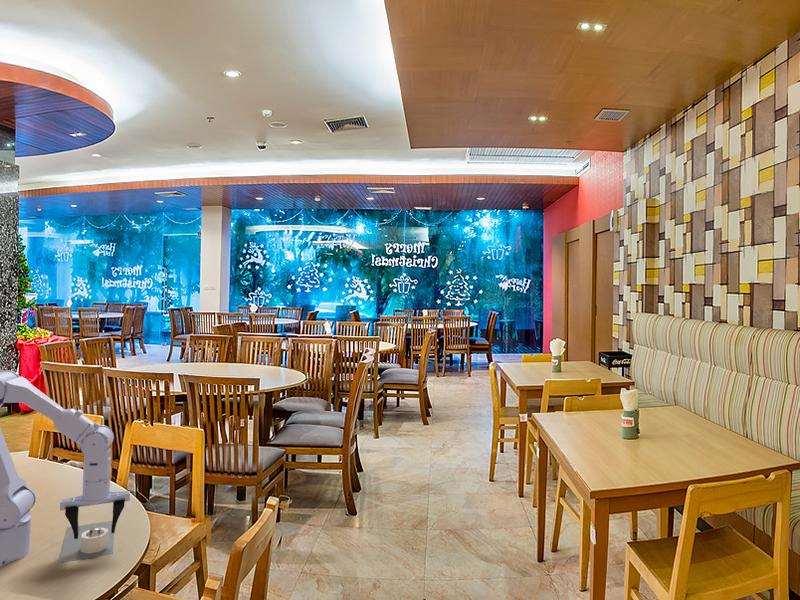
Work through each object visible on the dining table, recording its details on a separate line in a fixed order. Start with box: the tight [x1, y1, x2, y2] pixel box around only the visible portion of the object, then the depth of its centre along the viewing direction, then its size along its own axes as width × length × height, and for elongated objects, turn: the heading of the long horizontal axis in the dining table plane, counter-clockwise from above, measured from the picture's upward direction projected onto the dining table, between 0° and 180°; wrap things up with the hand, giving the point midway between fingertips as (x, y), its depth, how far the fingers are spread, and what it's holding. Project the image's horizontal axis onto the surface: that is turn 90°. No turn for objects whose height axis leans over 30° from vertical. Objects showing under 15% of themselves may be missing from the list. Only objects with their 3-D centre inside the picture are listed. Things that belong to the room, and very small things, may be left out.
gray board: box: [57, 520, 115, 564], centre depth 130 cm, size 20×11×1 cm, turn 28°
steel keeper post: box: [89, 527, 101, 537], centre depth 126 cm, size 2×2×4 cm
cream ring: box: [81, 528, 109, 554], centre depth 126 cm, size 6×6×4 cm
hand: (94, 534), depth 126 cm, fingers open, 7 cm apart
